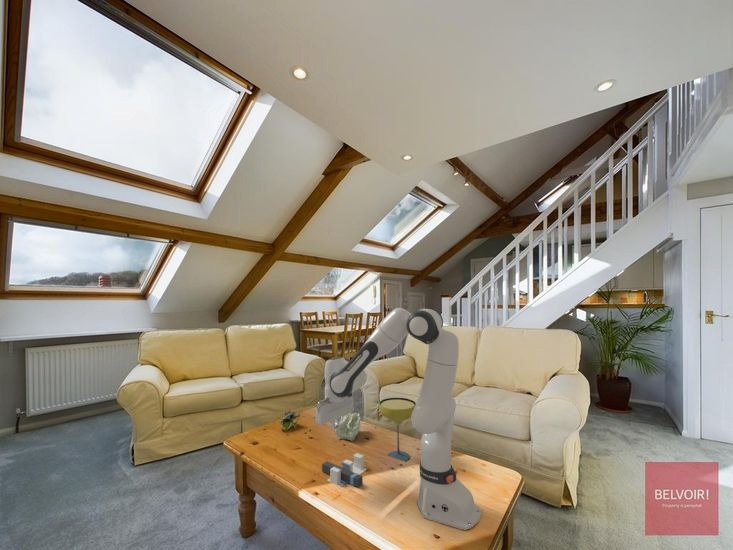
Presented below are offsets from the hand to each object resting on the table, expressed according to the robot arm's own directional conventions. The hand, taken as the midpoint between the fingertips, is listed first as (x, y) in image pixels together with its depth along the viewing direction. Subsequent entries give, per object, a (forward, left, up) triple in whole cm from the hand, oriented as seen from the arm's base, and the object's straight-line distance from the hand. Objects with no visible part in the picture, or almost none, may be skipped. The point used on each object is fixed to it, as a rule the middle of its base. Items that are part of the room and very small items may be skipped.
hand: (335, 428), depth 140 cm
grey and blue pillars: (-3, -4, -21) cm, 21 cm away
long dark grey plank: (-3, 0, -19) cm, 19 cm away
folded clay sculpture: (+23, -35, -21) cm, 47 cm away
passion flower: (+59, -23, -21) cm, 66 cm away
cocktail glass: (-10, -32, -21) cm, 40 cm away
